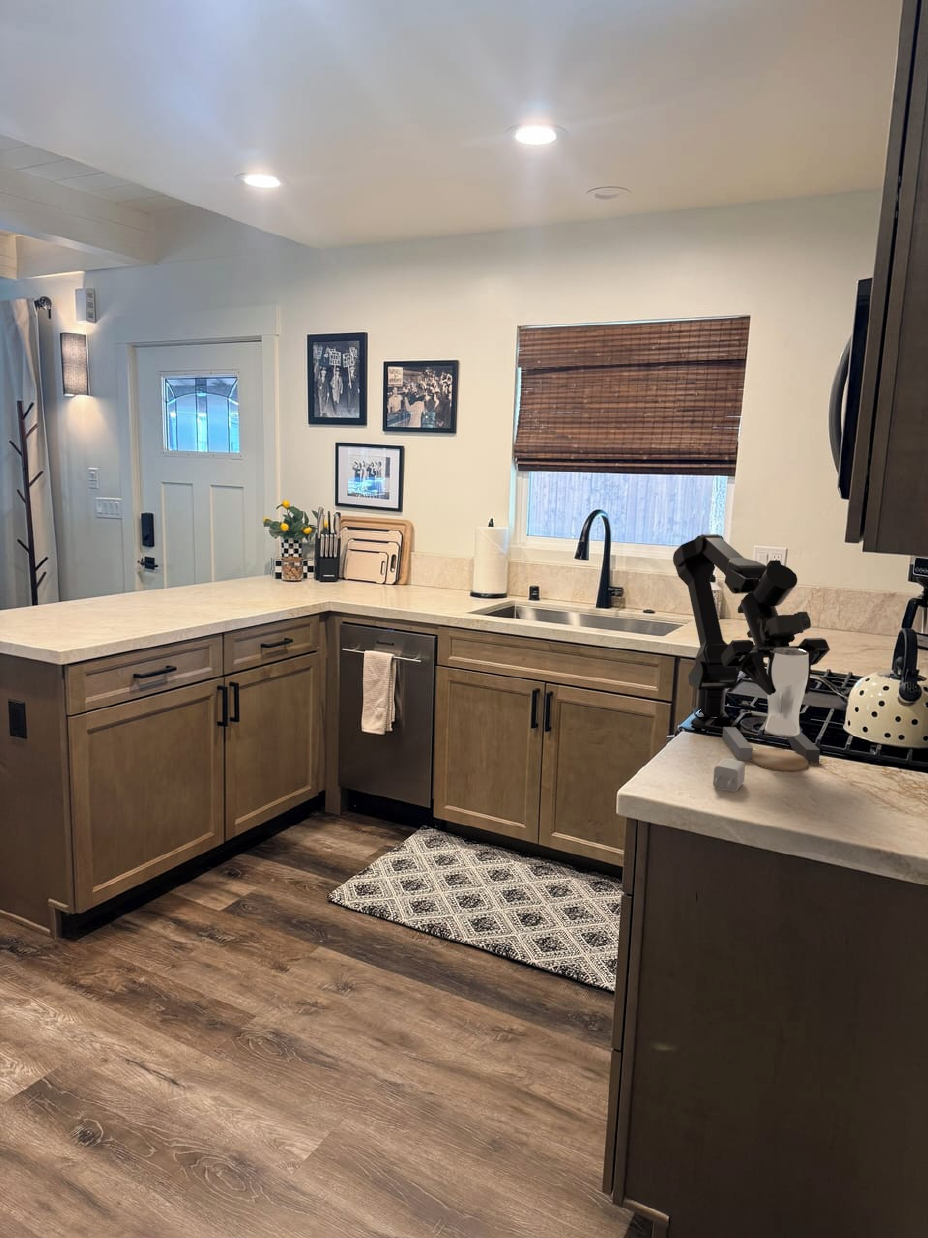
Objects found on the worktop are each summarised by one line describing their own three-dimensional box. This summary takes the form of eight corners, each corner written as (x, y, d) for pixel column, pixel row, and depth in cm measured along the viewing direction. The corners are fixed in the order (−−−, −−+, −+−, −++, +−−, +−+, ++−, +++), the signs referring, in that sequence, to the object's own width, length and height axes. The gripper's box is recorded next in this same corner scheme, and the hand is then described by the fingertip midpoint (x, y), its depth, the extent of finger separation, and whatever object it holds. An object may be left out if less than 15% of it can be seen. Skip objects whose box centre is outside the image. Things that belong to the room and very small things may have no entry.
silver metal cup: (803, 729, 153) (811, 649, 150) (800, 740, 147) (808, 657, 144) (763, 723, 156) (770, 645, 153) (758, 734, 150) (766, 653, 147)
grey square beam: (722, 738, 164) (723, 727, 164) (734, 739, 164) (735, 727, 164) (738, 760, 152) (739, 747, 152) (751, 760, 152) (752, 748, 152)
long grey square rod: (784, 740, 164) (785, 728, 163) (796, 740, 163) (797, 729, 163) (805, 762, 152) (806, 749, 151) (818, 762, 152) (820, 750, 151)
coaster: (743, 751, 157) (743, 748, 157) (797, 752, 157) (797, 749, 157) (758, 770, 147) (759, 767, 147) (816, 772, 147) (816, 769, 147)
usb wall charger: (743, 784, 141) (745, 762, 140) (733, 798, 135) (734, 774, 135) (720, 779, 143) (721, 757, 142) (708, 792, 137) (710, 769, 137)
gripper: (733, 596, 149) (759, 672, 140) (829, 595, 152) (860, 669, 143) (710, 630, 158) (733, 703, 149) (801, 628, 161) (829, 699, 152)
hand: (789, 693), depth 148 cm, fingers closed on silver metal cup, 7 cm apart
